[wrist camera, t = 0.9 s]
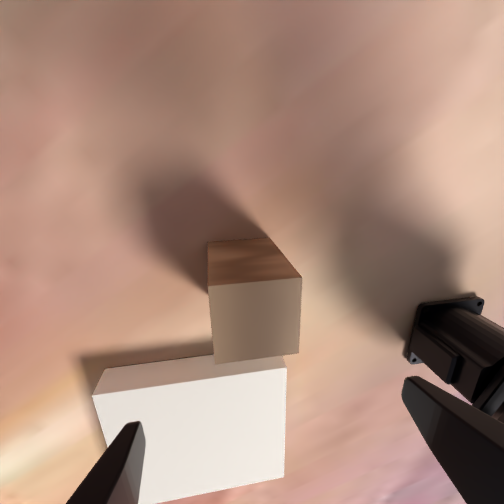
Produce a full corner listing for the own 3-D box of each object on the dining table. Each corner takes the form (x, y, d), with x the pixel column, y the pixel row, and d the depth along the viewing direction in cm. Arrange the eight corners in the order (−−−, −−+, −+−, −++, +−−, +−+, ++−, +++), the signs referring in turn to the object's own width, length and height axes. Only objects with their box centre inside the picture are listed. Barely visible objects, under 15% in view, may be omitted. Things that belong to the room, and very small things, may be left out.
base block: (278, 345, 22) (286, 367, 20) (277, 449, 27) (284, 477, 24) (104, 368, 20) (91, 395, 18) (134, 476, 25) (126, 509, 22)
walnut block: (269, 237, 19) (301, 277, 12) (269, 292, 20) (298, 353, 14) (207, 241, 18) (207, 286, 12) (212, 298, 20) (214, 364, 13)
